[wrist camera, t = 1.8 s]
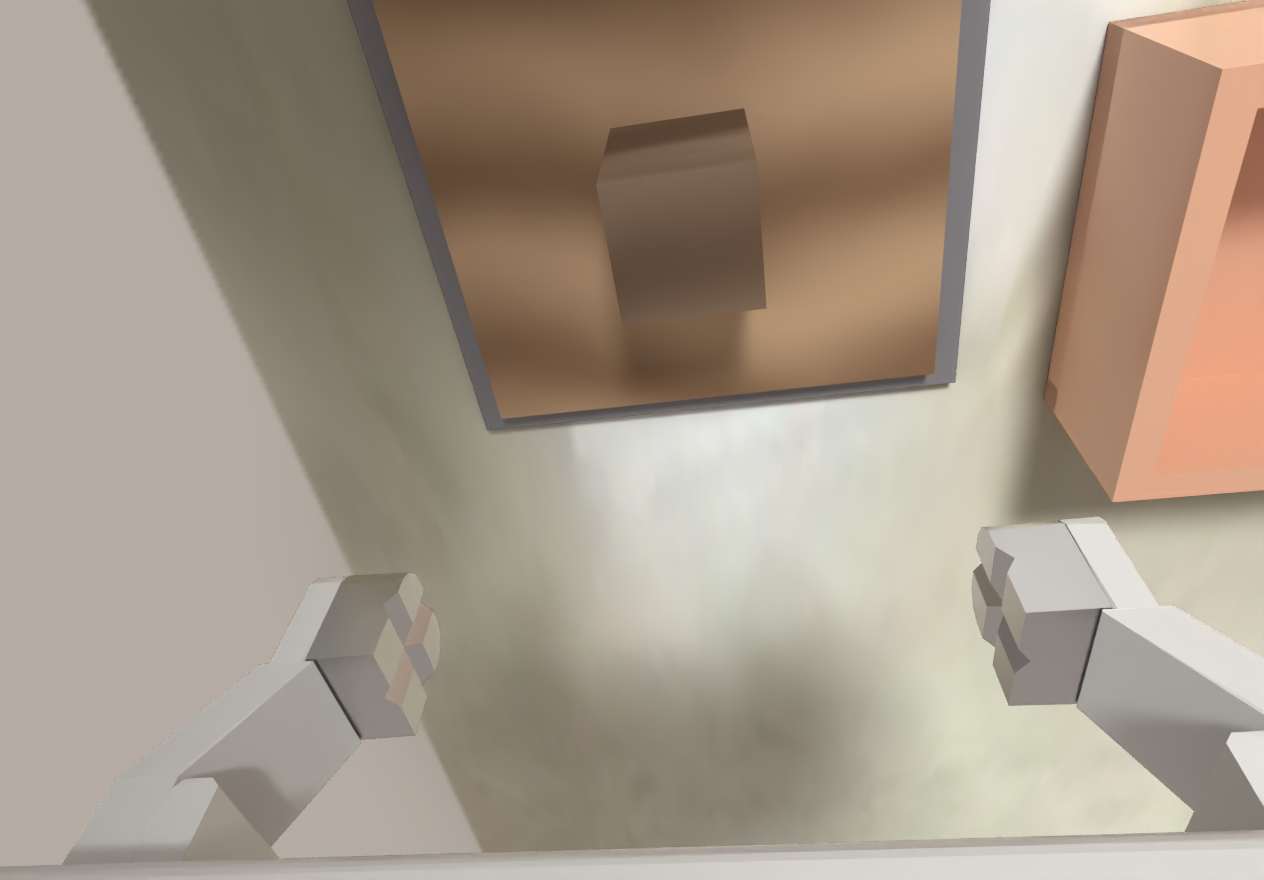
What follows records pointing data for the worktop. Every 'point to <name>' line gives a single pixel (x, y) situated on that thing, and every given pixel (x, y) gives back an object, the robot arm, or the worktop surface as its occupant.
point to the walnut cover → (685, 188)
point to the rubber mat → (945, 372)
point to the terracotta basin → (1169, 262)
